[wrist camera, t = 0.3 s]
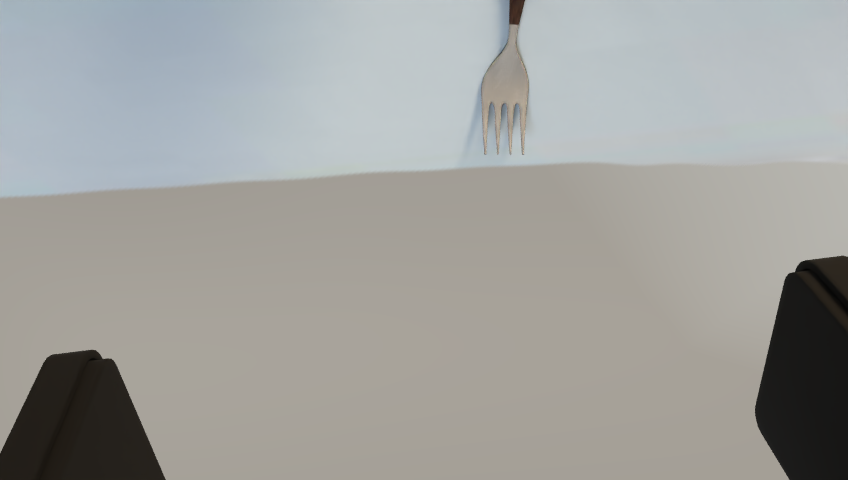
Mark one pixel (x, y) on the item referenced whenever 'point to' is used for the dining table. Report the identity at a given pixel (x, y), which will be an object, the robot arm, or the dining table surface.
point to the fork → (506, 82)
